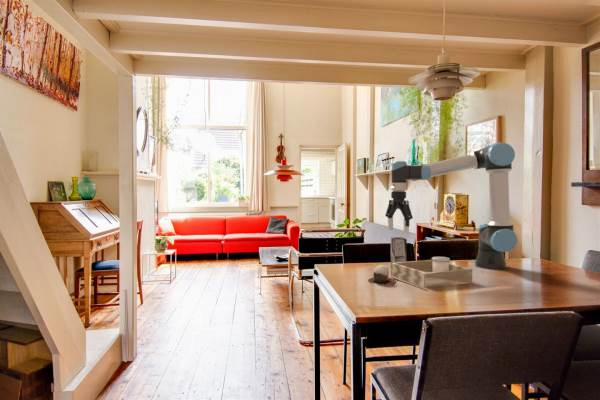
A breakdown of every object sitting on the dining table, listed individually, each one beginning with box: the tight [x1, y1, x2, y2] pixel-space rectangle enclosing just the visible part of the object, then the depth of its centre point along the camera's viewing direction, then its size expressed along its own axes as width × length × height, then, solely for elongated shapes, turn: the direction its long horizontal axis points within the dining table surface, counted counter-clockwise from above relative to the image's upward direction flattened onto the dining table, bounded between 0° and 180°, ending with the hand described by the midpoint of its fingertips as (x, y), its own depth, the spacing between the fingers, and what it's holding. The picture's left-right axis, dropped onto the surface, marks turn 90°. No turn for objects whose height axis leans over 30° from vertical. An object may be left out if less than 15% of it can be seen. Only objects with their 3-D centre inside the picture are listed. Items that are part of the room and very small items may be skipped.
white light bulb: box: [431, 256, 451, 272], centre depth 168 cm, size 8×8×9 cm
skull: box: [367, 264, 397, 286], centre depth 166 cm, size 12×10×10 cm
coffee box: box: [390, 236, 408, 264], centre depth 194 cm, size 9×6×16 cm
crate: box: [390, 259, 473, 291], centre depth 166 cm, size 24×24×7 cm
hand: (398, 231), depth 194 cm, fingers open, 13 cm apart
